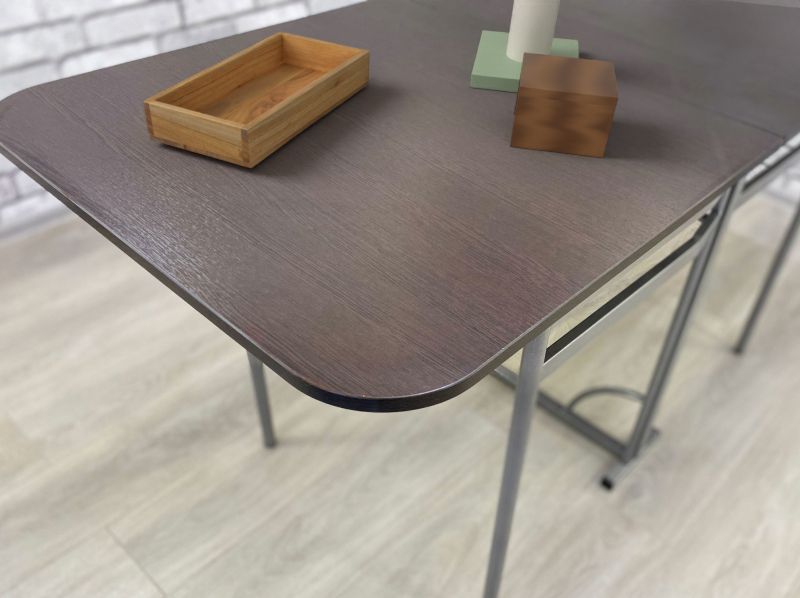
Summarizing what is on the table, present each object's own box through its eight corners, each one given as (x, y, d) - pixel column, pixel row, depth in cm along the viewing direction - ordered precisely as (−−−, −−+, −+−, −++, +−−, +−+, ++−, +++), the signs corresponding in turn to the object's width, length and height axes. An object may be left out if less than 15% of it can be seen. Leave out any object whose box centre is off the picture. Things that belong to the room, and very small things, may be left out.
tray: (281, 66, 110) (279, 27, 107) (369, 87, 106) (370, 47, 102) (149, 145, 90) (141, 100, 86) (251, 175, 85) (247, 129, 81)
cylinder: (549, 50, 115) (570, -62, 104) (549, 66, 110) (571, -50, 99) (507, 46, 116) (524, -66, 105) (504, 61, 111) (522, -55, 100)
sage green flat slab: (575, 52, 121) (578, 40, 119) (577, 99, 106) (580, 86, 105) (481, 42, 122) (482, 30, 121) (469, 87, 108) (471, 74, 106)
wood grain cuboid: (599, 119, 101) (613, 61, 96) (602, 157, 92) (618, 97, 87) (514, 109, 103) (523, 52, 97) (509, 146, 94) (519, 86, 88)
